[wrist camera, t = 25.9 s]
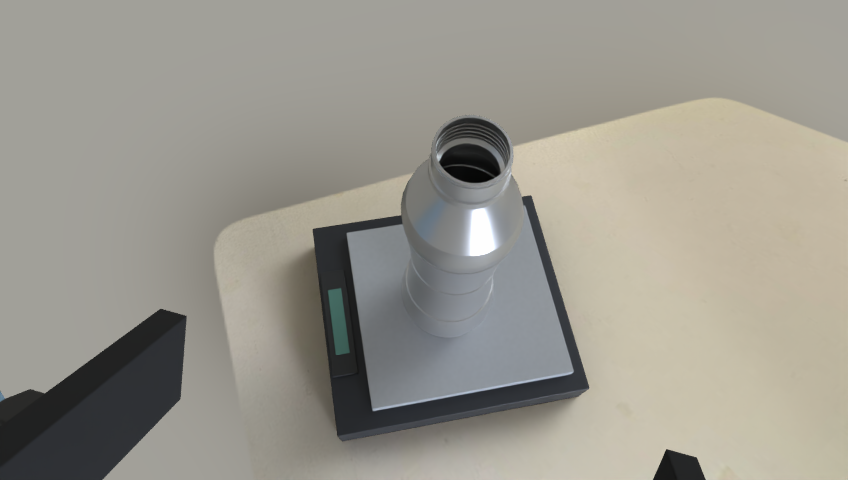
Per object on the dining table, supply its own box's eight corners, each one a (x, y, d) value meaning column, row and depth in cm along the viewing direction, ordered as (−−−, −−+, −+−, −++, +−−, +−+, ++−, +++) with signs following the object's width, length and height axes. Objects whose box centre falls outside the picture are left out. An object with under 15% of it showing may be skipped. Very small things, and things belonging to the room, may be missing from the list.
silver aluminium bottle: (480, 255, 45) (529, 80, 27) (496, 340, 42) (563, 209, 24) (396, 264, 45) (389, 93, 27) (407, 351, 42) (408, 226, 24)
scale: (341, 441, 43) (336, 434, 39) (317, 244, 49) (311, 224, 46) (578, 396, 45) (593, 386, 41) (524, 212, 51) (533, 190, 48)
